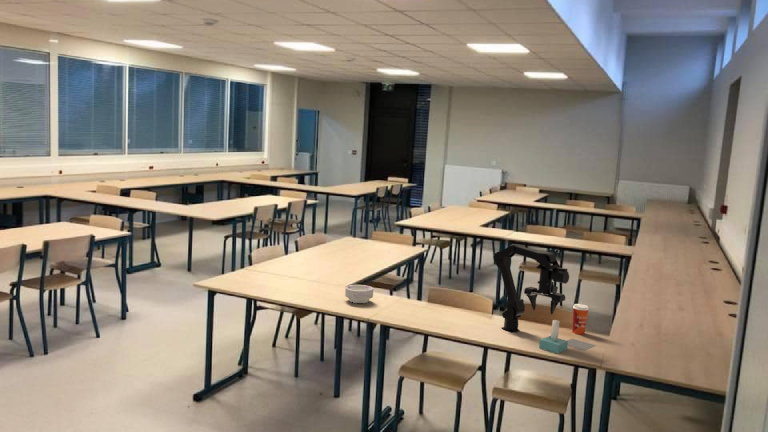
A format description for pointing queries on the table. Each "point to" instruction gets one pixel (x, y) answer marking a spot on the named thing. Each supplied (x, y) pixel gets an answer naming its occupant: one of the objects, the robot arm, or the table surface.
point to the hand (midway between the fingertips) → (542, 312)
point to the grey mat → (579, 344)
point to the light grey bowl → (359, 293)
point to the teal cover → (554, 340)
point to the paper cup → (579, 318)
